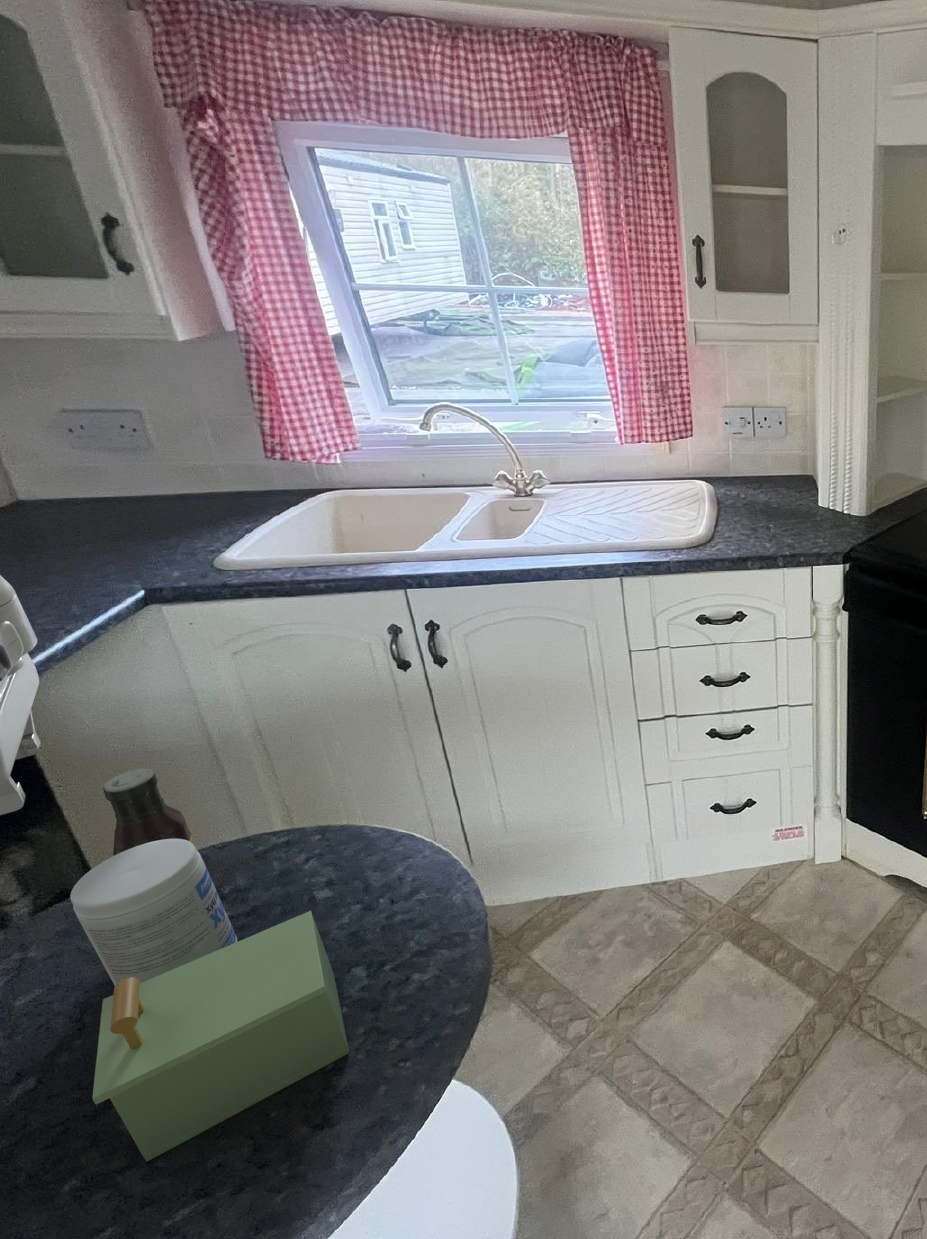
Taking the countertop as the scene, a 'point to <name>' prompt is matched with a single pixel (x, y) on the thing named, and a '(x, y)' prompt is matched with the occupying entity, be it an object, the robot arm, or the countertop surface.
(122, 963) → the supplement tub
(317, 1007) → the chest
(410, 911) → the countertop surface
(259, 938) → the lid
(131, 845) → the sauce bottle
